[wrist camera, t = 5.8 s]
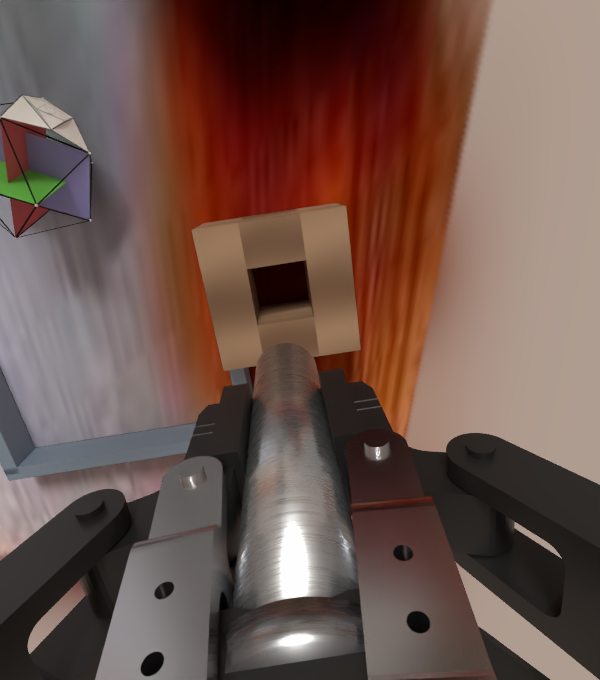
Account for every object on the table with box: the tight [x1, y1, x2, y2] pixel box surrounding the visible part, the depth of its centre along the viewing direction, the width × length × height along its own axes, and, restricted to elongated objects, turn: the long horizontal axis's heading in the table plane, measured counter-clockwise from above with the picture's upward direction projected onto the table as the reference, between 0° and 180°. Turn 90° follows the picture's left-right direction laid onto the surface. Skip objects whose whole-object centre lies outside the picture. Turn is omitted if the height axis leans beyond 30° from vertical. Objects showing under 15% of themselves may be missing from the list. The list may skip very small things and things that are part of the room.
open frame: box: [0, 367, 253, 481], centre depth 31 cm, size 10×19×2 cm, turn 98°
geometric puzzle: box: [0, 95, 93, 239], centre depth 24 cm, size 7×7×8 cm
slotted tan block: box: [192, 203, 361, 371], centre depth 28 cm, size 9×9×4 cm
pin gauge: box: [222, 343, 365, 673], centre depth 10 cm, size 3×3×11 cm
